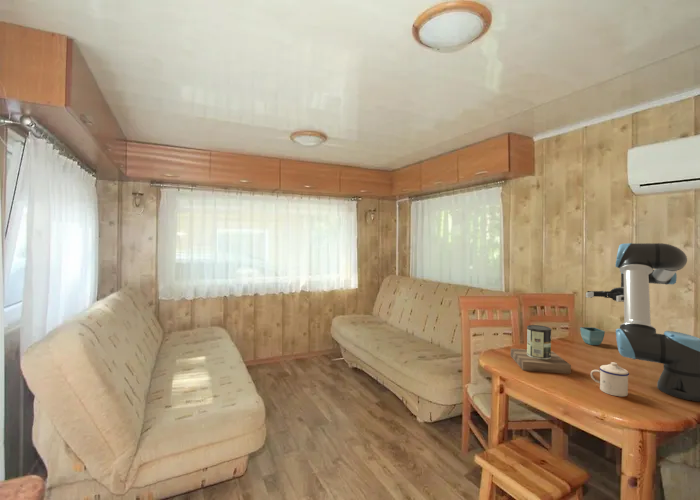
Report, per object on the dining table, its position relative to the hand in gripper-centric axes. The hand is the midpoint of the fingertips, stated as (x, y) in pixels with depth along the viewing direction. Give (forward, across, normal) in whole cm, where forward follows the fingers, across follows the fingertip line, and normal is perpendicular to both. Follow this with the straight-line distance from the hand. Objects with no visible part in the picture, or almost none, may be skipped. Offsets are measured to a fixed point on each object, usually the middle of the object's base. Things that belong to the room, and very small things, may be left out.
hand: (601, 296), depth 167 cm
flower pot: (-25, +15, -32) cm, 44 cm away
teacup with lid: (+40, -21, -32) cm, 56 cm away
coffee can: (+36, +10, -28) cm, 47 cm away
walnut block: (+37, +10, -32) cm, 50 cm away
